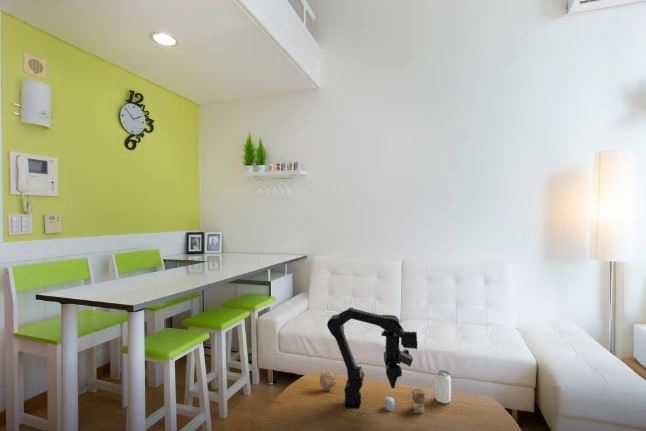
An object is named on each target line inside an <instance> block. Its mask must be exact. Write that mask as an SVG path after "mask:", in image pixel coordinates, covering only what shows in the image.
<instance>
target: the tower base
mask: <svg viewBox="0 0 646 431" xmlns="http://www.w3.org/2000/svg"><path fill="white" fill-rule="evenodd" d="M412 407H413V413H415V414H416V413H417V414H425V403H415V402H414V400H413V399H412Z"/></svg>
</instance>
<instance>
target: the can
mask: <svg viewBox="0 0 646 431" xmlns="http://www.w3.org/2000/svg"><path fill="white" fill-rule="evenodd" d="M434 381H435V382H434V387H435V388H434V390H435V391H434V393H435V394H434V395H435V401H437V402H438V403H441V404H444V405H445V404H450V403H451V402H452V398H451V396H452V391H451V390H452V389H451V388H452V387H451V376H450V372H448V371H447V370H443V369H442V370H441V369H439V370H437V371H435V374H434Z"/></svg>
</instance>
